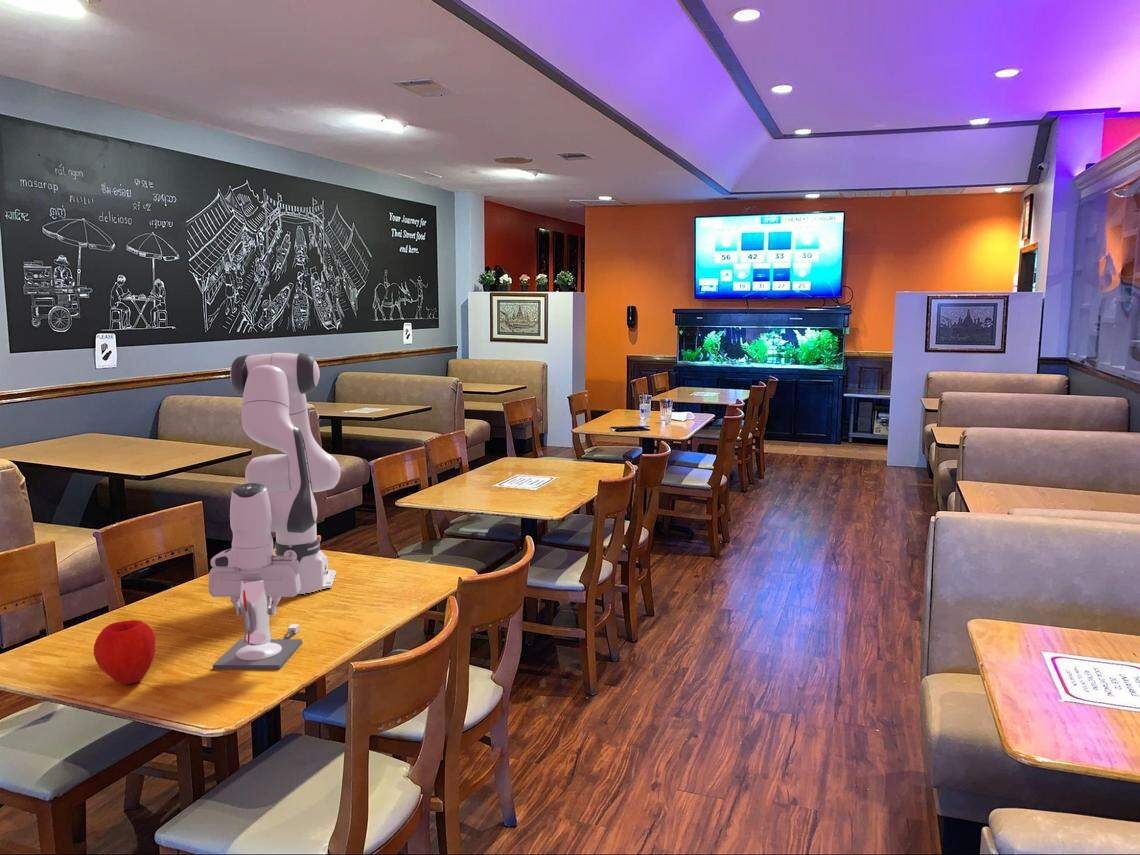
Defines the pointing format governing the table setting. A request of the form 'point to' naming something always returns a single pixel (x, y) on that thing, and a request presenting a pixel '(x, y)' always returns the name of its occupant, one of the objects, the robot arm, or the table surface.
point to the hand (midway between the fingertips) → (256, 614)
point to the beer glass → (255, 612)
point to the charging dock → (260, 653)
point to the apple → (125, 650)
